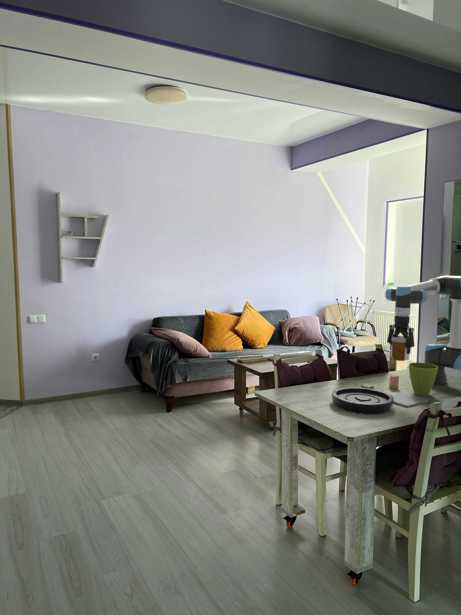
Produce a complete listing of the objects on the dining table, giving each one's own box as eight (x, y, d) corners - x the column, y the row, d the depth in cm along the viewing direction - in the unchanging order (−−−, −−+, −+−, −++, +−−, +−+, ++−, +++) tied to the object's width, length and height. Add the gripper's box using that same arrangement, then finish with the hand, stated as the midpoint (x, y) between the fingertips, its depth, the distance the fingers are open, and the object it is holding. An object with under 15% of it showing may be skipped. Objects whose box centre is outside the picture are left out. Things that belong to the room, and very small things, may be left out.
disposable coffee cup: (410, 359, 252) (412, 337, 251) (406, 362, 245) (407, 339, 243) (392, 357, 258) (394, 335, 257) (387, 359, 250) (388, 337, 249)
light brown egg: (392, 386, 277) (393, 374, 276) (400, 388, 273) (400, 376, 272) (387, 387, 274) (387, 375, 273) (394, 389, 270) (395, 377, 269)
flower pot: (439, 399, 253) (441, 369, 251) (409, 396, 256) (411, 367, 254) (432, 391, 268) (434, 363, 266) (405, 389, 270) (406, 361, 269)
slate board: (402, 394, 260) (402, 392, 260) (428, 402, 247) (428, 400, 247) (380, 399, 250) (380, 397, 250) (407, 407, 237) (407, 405, 237)
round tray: (368, 395, 258) (320, 400, 248) (368, 384, 258) (320, 388, 247) (406, 412, 231) (354, 418, 220) (407, 400, 230) (355, 406, 219)
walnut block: (365, 392, 263) (365, 383, 262) (373, 394, 259) (374, 385, 259) (360, 394, 259) (360, 385, 259) (368, 396, 256) (369, 387, 255)
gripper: (381, 313, 256) (379, 355, 258) (414, 318, 238) (411, 362, 240) (390, 313, 260) (388, 354, 262) (424, 317, 242) (421, 361, 244)
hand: (399, 358), depth 251 cm, fingers closed on disposable coffee cup, 8 cm apart
